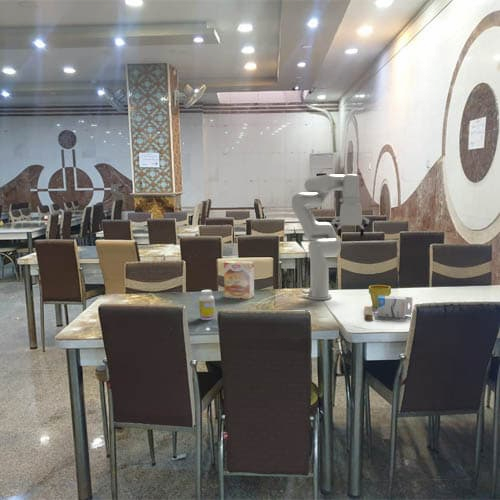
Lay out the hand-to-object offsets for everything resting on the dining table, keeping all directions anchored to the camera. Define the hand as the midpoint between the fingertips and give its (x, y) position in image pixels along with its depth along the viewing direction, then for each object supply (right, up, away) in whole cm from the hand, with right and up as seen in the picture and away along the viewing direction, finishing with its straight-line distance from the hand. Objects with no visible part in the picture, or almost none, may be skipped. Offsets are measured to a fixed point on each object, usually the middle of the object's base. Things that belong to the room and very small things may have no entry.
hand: (350, 237), depth 214 cm
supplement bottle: (-67, -37, -9) cm, 77 cm away
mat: (+14, -36, -11) cm, 40 cm away
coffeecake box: (-53, -32, +34) cm, 71 cm away
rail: (+6, -36, -9) cm, 37 cm away
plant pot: (+16, -34, +8) cm, 38 cm away
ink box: (+10, -31, -10) cm, 34 cm away
